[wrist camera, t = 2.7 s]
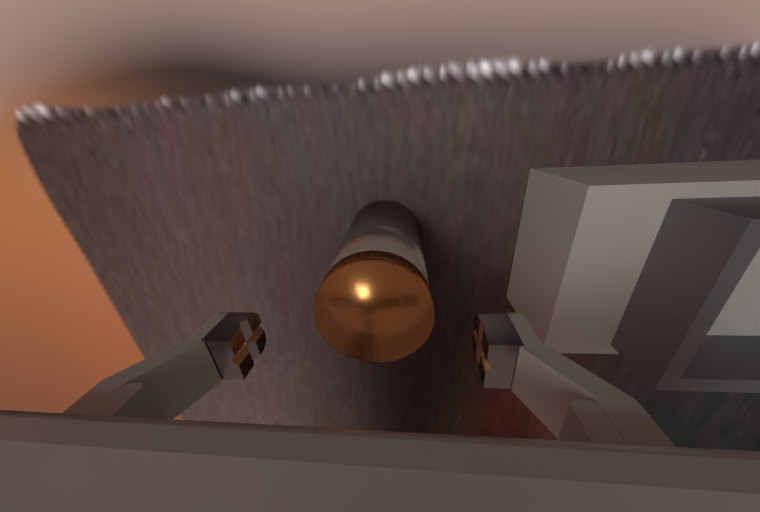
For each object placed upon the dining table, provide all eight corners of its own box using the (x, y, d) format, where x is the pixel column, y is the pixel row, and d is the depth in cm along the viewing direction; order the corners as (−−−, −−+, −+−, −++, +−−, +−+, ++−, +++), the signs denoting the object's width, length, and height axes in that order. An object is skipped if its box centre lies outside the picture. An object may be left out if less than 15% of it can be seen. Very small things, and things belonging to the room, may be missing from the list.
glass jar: (386, 274, 21) (377, 378, 12) (338, 234, 20) (289, 317, 11) (432, 232, 20) (460, 317, 11) (382, 185, 18) (367, 237, 9)
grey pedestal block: (806, 157, 16) (1222, 186, 8) (723, 296, 20) (938, 407, 12) (530, 168, 17) (644, 202, 9) (506, 297, 22) (570, 397, 13)
